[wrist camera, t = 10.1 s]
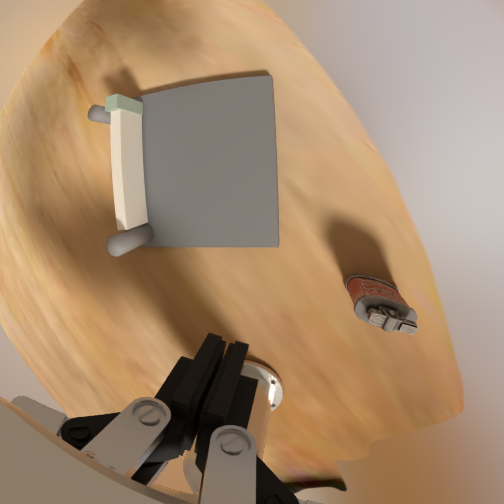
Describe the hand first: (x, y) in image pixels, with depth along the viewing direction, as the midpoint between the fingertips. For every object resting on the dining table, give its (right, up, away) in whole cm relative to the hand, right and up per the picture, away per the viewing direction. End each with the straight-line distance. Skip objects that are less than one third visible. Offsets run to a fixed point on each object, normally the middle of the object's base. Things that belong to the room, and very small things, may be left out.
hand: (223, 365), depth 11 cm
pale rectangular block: (-14, +16, +22) cm, 31 cm away
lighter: (+17, 0, +24) cm, 29 cm away
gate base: (-6, +16, +23) cm, 29 cm away
